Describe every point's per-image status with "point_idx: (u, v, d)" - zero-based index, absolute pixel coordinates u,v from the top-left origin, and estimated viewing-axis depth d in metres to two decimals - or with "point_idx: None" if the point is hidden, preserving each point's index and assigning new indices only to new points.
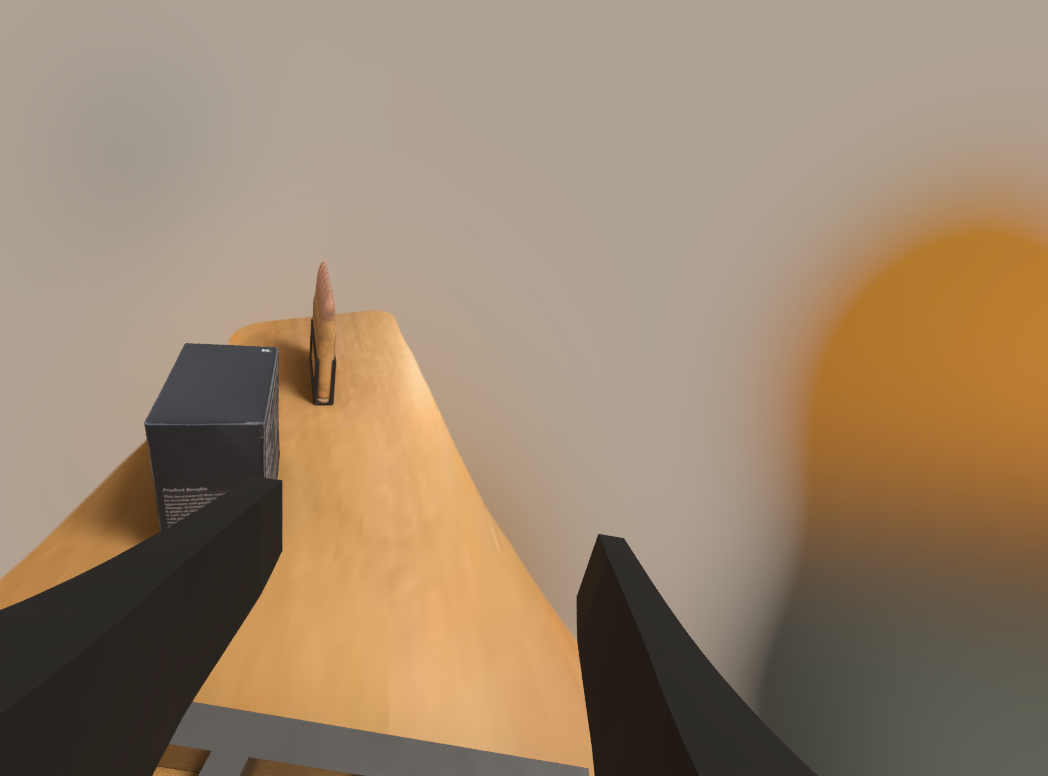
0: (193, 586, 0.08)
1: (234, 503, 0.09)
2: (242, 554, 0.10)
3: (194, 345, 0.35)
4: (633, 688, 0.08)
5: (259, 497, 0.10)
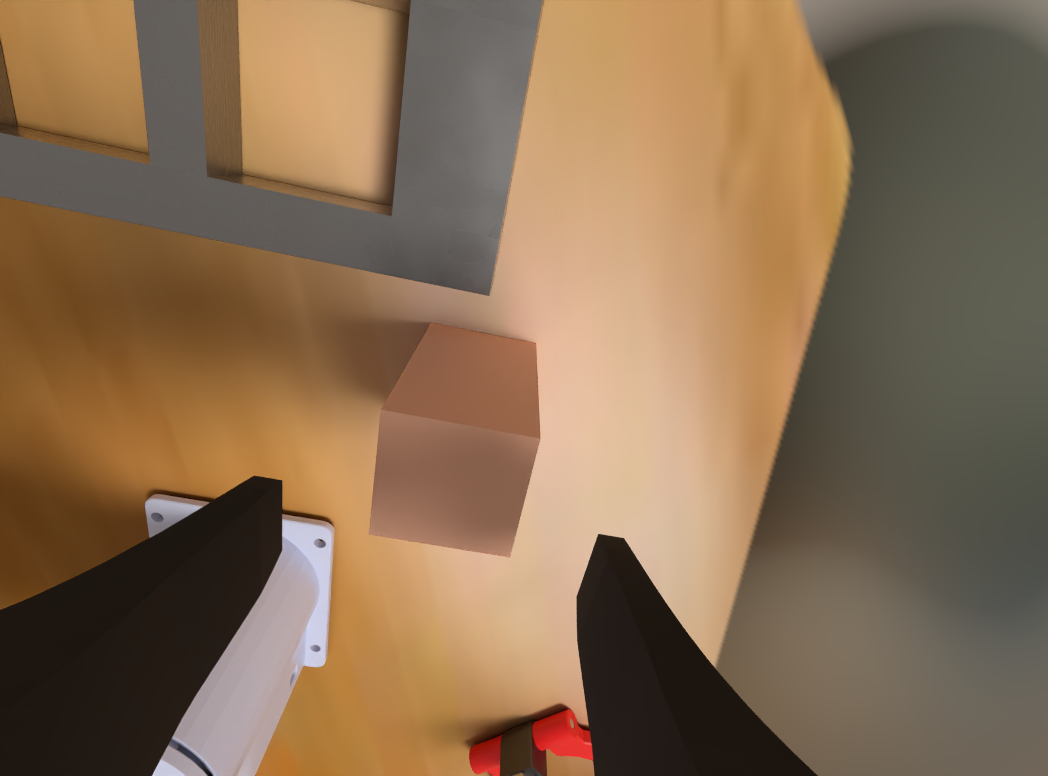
0: (193, 586, 0.08)
1: (234, 503, 0.09)
2: (242, 554, 0.10)
3: None
4: (633, 688, 0.08)
5: (259, 497, 0.10)
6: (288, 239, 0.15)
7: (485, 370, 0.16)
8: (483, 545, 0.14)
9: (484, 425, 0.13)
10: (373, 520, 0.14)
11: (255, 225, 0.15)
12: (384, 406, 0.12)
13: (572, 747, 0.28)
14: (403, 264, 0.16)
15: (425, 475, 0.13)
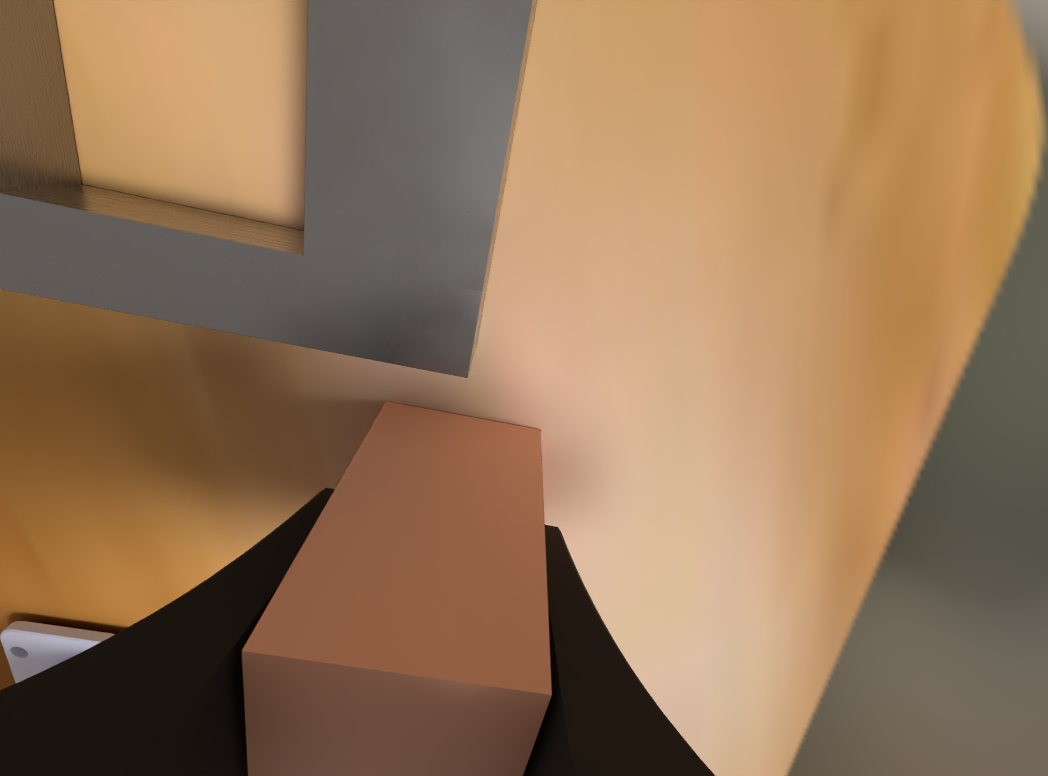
0: None
1: (316, 516, 0.10)
2: None
3: None
4: None
5: None
6: (138, 291, 0.09)
7: (459, 502, 0.10)
8: None
9: (446, 668, 0.07)
10: None
11: (80, 270, 0.09)
12: (252, 638, 0.06)
13: None
14: (328, 330, 0.10)
15: (339, 744, 0.07)
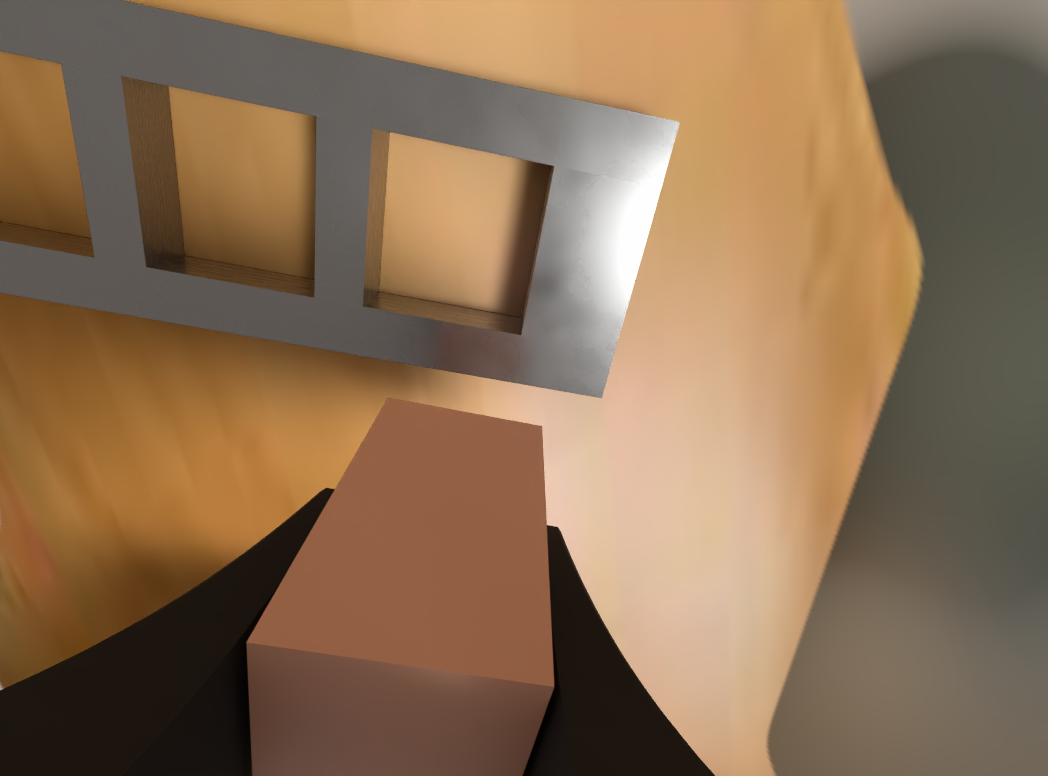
0: None
1: (316, 516, 0.10)
2: None
3: None
4: None
5: None
6: (428, 355, 0.17)
7: (461, 496, 0.10)
8: None
9: (449, 660, 0.07)
10: None
11: (400, 344, 0.17)
12: (257, 630, 0.06)
13: None
14: (527, 373, 0.18)
15: (342, 736, 0.07)
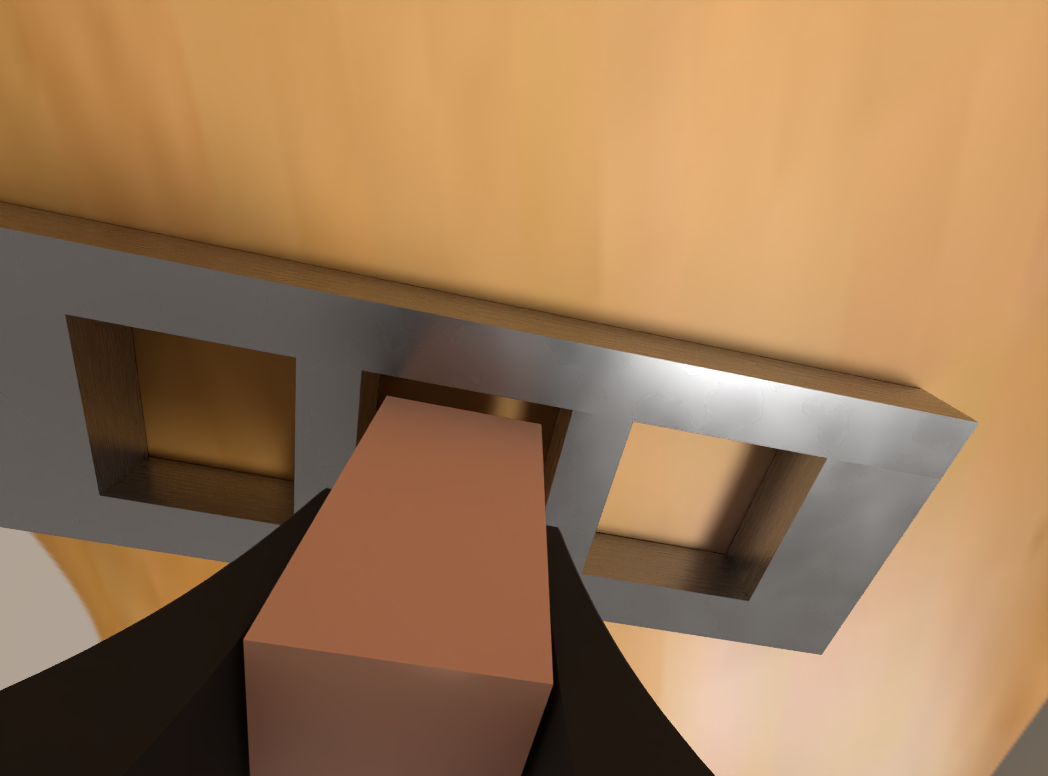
0: None
1: None
2: None
3: None
4: None
5: None
6: (642, 616, 0.16)
7: (460, 494, 0.10)
8: None
9: (447, 657, 0.07)
10: None
11: (613, 606, 0.16)
12: (253, 627, 0.06)
13: None
14: (746, 633, 0.16)
15: (341, 734, 0.07)
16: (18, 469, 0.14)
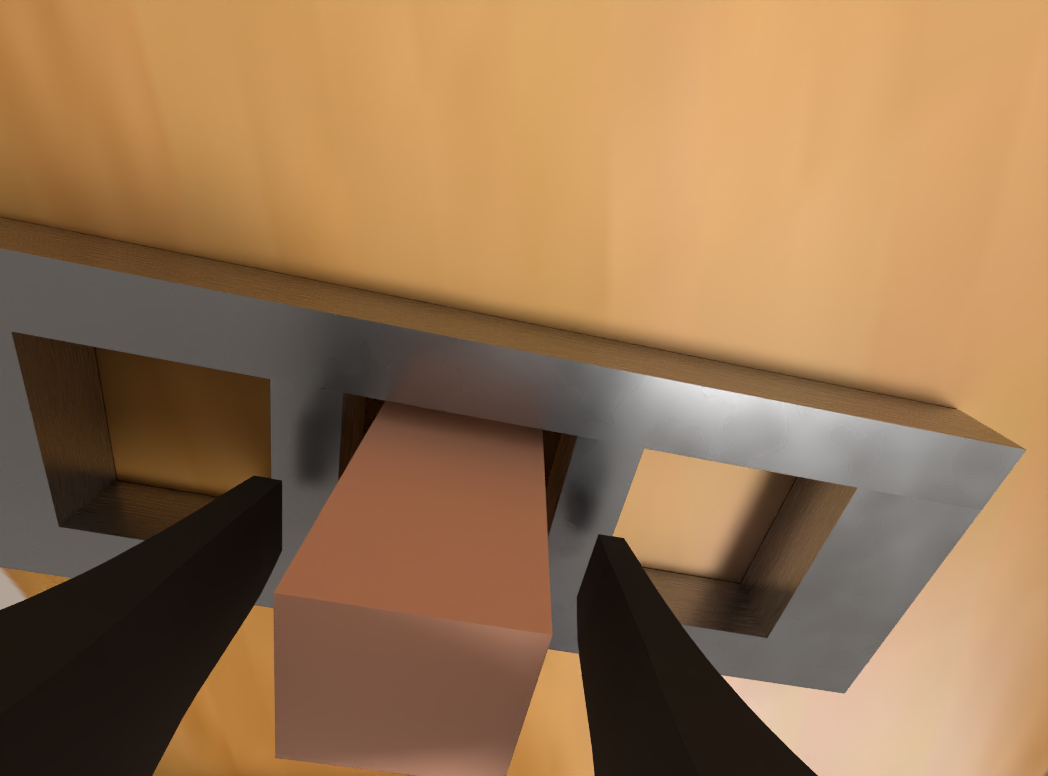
0: (193, 586, 0.08)
1: (234, 503, 0.09)
2: (242, 554, 0.10)
3: None
4: (633, 688, 0.08)
5: (259, 497, 0.10)
6: None
7: (466, 472, 0.10)
8: (460, 772, 0.09)
9: (456, 611, 0.07)
10: (281, 741, 0.08)
11: None
12: (283, 583, 0.07)
13: None
14: (764, 671, 0.15)
15: (359, 683, 0.08)
16: None
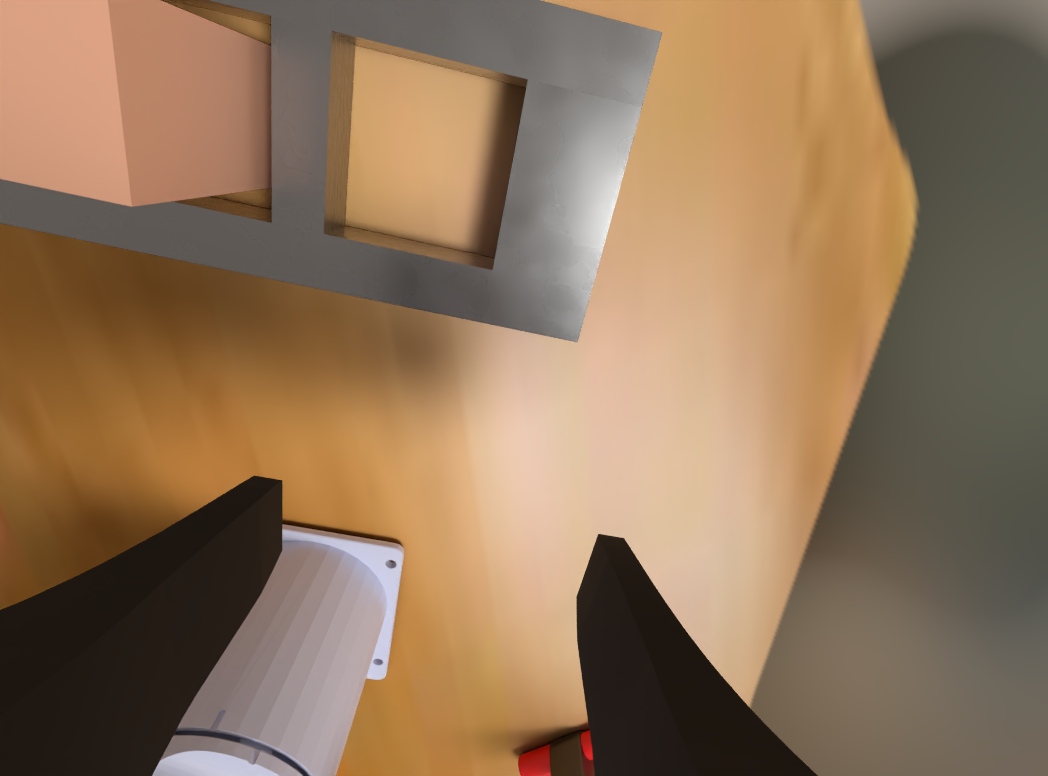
0: (193, 586, 0.08)
1: (234, 503, 0.09)
2: (242, 554, 0.10)
3: None
4: (633, 688, 0.08)
5: (259, 497, 0.10)
6: (394, 290, 0.16)
7: None
8: (90, 184, 0.11)
9: None
10: None
11: (364, 277, 0.16)
12: None
13: None
14: (499, 313, 0.17)
15: None
16: None
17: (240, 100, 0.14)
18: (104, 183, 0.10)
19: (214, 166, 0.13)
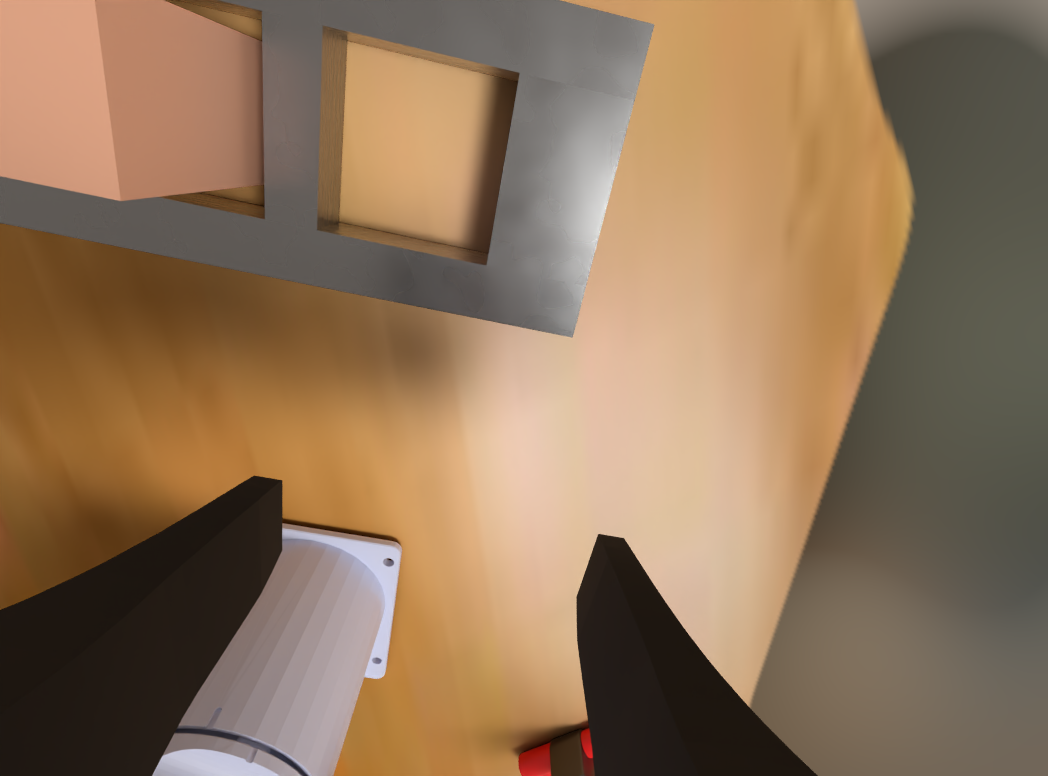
0: (193, 586, 0.08)
1: (234, 503, 0.09)
2: (242, 554, 0.10)
3: None
4: (633, 688, 0.08)
5: (259, 497, 0.10)
6: (388, 286, 0.16)
7: None
8: (79, 178, 0.10)
9: None
10: None
11: (357, 273, 0.16)
12: None
13: None
14: (494, 309, 0.17)
15: None
16: None
17: (232, 96, 0.14)
18: (93, 177, 0.10)
19: (204, 161, 0.13)
